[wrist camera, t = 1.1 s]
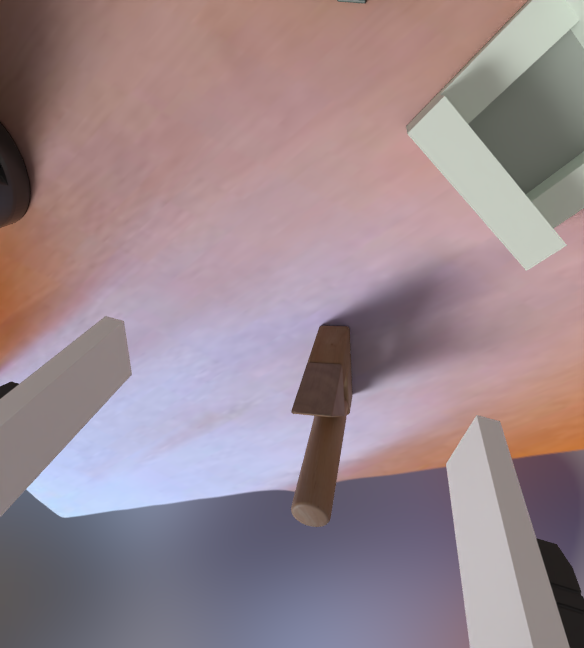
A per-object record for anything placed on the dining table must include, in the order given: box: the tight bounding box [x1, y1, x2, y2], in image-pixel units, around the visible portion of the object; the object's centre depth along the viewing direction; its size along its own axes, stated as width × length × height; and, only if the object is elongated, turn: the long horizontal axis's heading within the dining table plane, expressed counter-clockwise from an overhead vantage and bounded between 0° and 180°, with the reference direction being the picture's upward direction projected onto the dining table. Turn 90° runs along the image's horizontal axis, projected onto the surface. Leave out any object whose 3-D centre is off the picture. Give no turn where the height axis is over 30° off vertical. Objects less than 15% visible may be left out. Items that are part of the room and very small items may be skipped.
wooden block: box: [291, 326, 352, 527], centre depth 38 cm, size 4×11×18 cm, turn 7°
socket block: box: [406, 0, 584, 271], centre depth 26 cm, size 14×14×6 cm
